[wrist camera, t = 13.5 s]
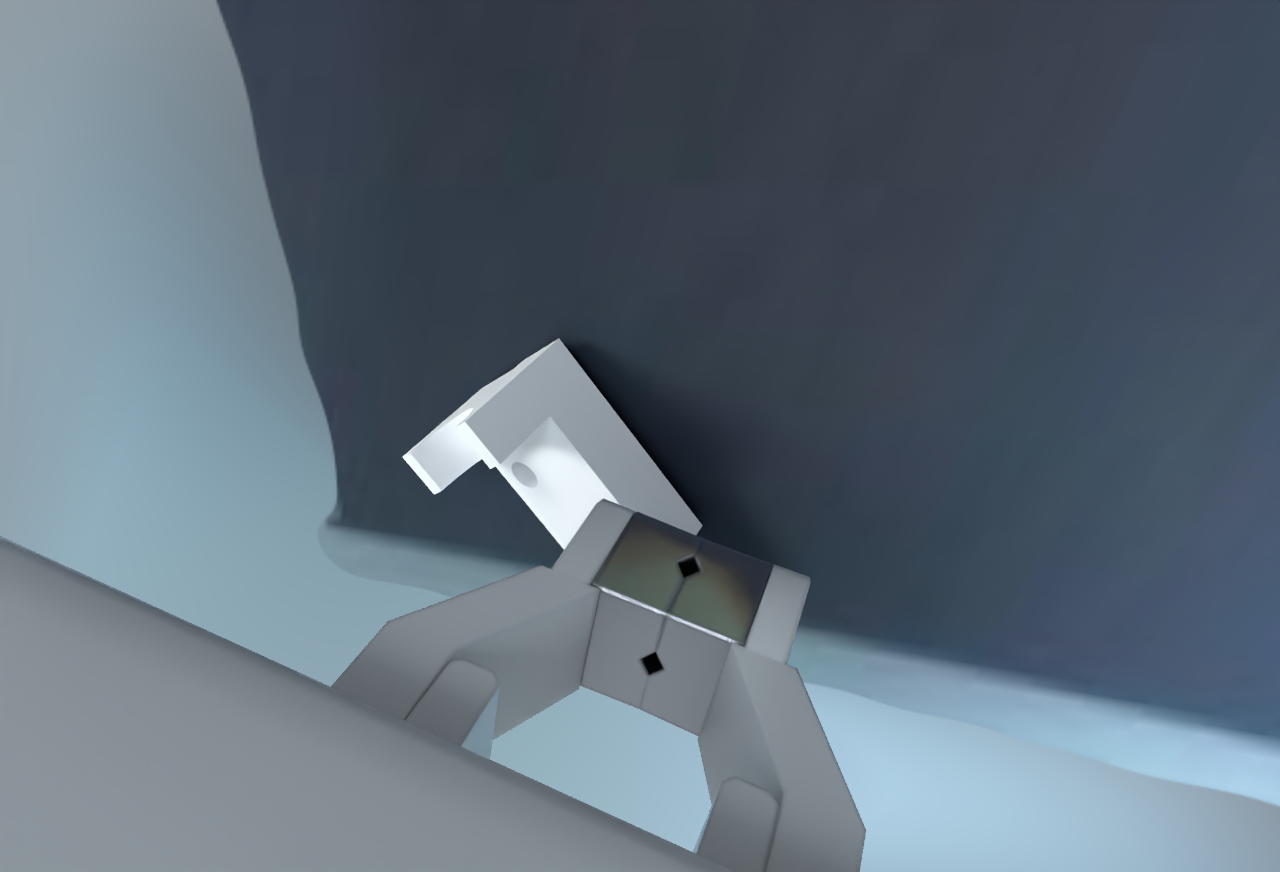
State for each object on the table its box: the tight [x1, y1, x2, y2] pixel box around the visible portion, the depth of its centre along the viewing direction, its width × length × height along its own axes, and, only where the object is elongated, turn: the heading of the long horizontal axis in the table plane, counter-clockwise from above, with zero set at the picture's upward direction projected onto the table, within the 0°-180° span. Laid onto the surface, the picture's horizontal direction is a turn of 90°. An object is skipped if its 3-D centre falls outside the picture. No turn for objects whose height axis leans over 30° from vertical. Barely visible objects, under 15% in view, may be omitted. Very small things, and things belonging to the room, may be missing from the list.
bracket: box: [403, 339, 702, 549], centre depth 47 cm, size 13×7×8 cm, turn 38°
